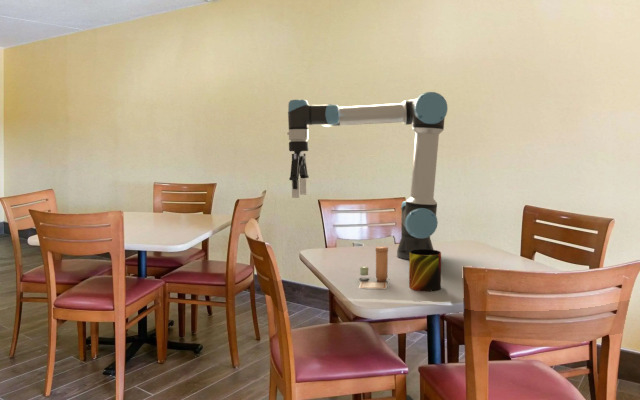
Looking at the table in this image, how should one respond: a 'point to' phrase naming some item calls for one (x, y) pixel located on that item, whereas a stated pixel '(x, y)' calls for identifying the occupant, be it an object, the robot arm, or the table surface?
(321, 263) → the table surface
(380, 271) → the orange tall block
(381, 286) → the clipboard
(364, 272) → the button
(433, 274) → the mug
